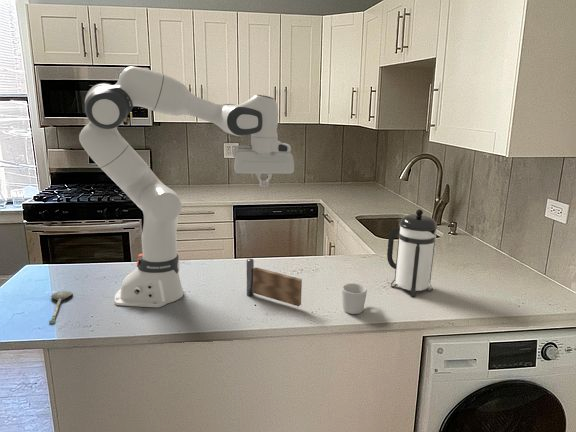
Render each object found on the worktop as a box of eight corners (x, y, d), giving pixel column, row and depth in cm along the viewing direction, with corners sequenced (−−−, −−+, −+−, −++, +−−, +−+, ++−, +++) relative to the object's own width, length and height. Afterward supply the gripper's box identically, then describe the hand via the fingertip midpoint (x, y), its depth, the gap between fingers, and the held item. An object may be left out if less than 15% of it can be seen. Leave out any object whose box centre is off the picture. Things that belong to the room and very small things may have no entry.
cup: (353, 300, 150) (354, 278, 148) (374, 307, 145) (375, 285, 143) (336, 311, 142) (337, 288, 140) (357, 319, 137) (358, 295, 135)
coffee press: (431, 282, 166) (440, 205, 158) (433, 300, 151) (443, 216, 143) (385, 276, 170) (391, 201, 162) (382, 293, 155) (389, 212, 147)
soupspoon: (75, 294, 151) (54, 297, 150) (73, 285, 151) (52, 288, 149) (64, 323, 131) (39, 327, 129) (62, 312, 130) (37, 316, 128)
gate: (253, 293, 150) (253, 268, 147) (255, 291, 151) (255, 267, 149) (298, 306, 141) (299, 280, 139) (301, 304, 142) (301, 279, 140)
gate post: (246, 296, 150) (246, 261, 147) (246, 293, 153) (246, 258, 149) (253, 296, 151) (253, 261, 147) (253, 293, 153) (253, 258, 150)
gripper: (232, 146, 141) (233, 188, 145) (295, 146, 144) (294, 188, 147) (233, 144, 147) (233, 184, 151) (293, 144, 150) (292, 184, 153)
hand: (264, 186), depth 149 cm, fingers closed
